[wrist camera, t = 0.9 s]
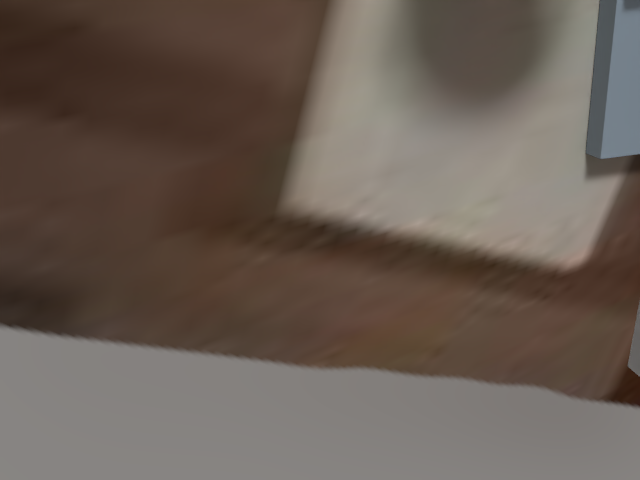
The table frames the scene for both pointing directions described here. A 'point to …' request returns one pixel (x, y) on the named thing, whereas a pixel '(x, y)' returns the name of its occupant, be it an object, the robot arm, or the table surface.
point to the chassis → (616, 82)
